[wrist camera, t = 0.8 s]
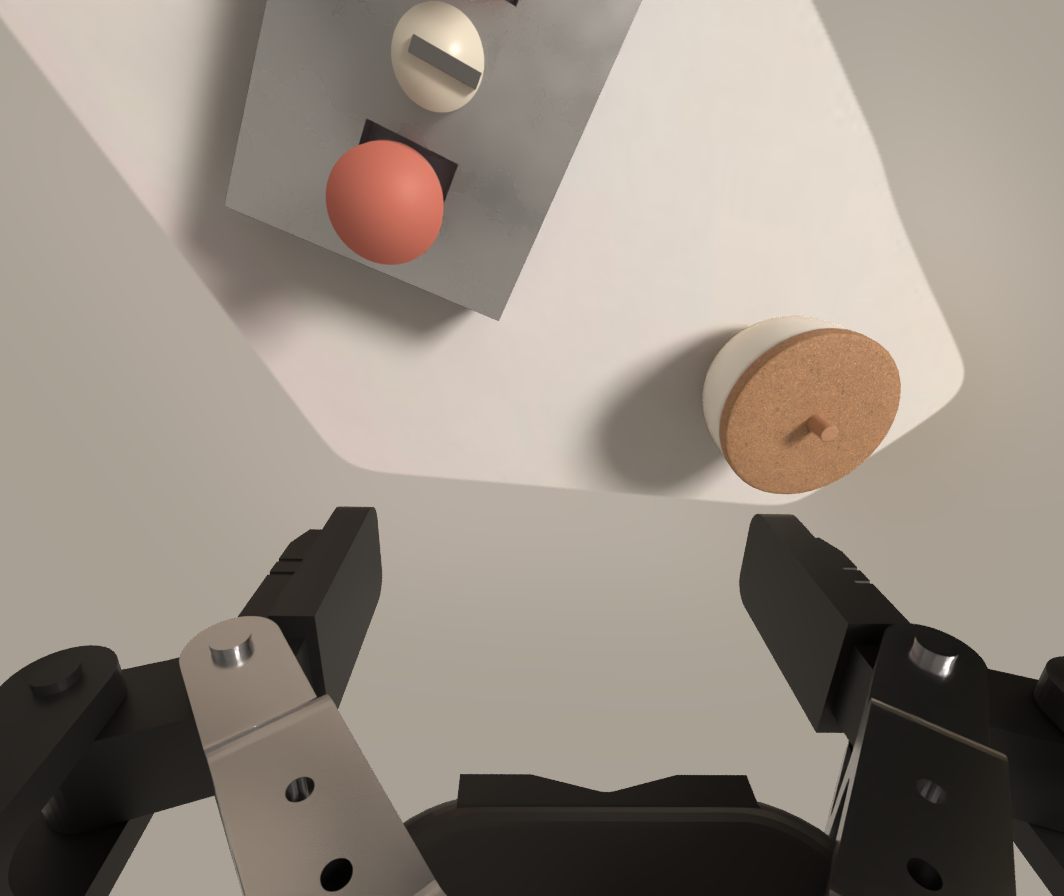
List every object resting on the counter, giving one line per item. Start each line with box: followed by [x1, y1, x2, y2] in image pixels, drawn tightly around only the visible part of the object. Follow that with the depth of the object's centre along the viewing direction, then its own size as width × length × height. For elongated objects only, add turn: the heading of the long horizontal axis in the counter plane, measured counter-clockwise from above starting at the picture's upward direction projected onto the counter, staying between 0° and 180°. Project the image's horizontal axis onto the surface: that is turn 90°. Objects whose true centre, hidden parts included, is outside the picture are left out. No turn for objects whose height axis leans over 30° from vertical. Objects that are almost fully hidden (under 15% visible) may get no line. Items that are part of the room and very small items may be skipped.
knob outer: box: [326, 140, 444, 265], centre depth 24 cm, size 4×4×6 cm
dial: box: [391, 1, 484, 112], centre depth 23 cm, size 4×4×4 cm
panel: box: [224, 0, 642, 321], centre depth 27 cm, size 14×19×5 cm
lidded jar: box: [703, 316, 901, 494], centre depth 36 cm, size 11×11×9 cm
